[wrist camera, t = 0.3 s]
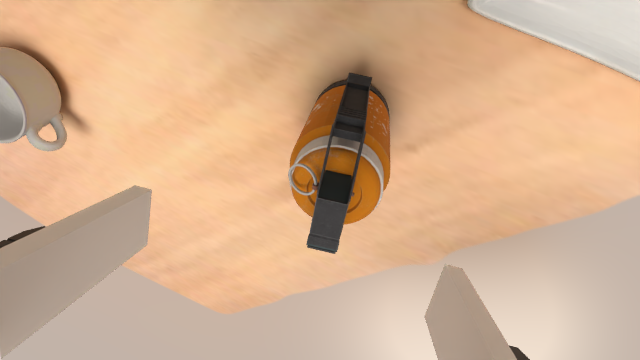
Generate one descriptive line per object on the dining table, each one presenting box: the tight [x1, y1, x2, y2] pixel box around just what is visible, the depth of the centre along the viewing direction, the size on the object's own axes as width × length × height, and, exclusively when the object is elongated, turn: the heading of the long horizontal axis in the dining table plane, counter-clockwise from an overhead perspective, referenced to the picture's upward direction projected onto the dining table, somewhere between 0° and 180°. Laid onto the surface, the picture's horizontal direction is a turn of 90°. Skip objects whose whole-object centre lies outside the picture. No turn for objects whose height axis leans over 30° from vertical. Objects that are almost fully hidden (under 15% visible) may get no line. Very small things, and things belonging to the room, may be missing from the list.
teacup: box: [0, 47, 67, 151], centre depth 42 cm, size 14×11×8 cm
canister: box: [288, 73, 390, 254], centre depth 31 cm, size 9×11×20 cm
